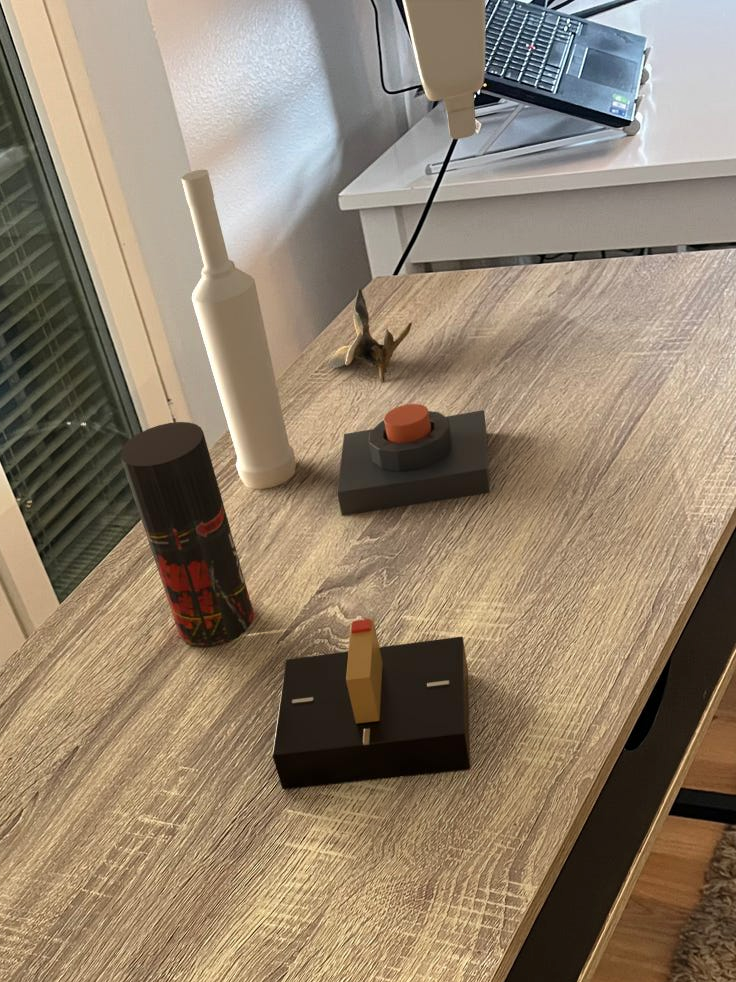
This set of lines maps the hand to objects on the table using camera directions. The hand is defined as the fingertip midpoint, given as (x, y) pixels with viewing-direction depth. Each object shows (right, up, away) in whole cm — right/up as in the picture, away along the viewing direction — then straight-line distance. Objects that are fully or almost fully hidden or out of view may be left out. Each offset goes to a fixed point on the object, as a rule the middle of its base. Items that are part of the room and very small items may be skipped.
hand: (463, 131), depth 89 cm
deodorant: (-17, -32, +10) cm, 38 cm away
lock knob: (-7, -40, -6) cm, 41 cm away
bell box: (-1, -18, +18) cm, 26 cm away
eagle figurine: (-4, -3, +35) cm, 36 cm away
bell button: (-2, -16, +16) cm, 23 cm away
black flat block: (-6, -42, -4) cm, 42 cm away
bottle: (-13, -17, +24) cm, 32 cm away
